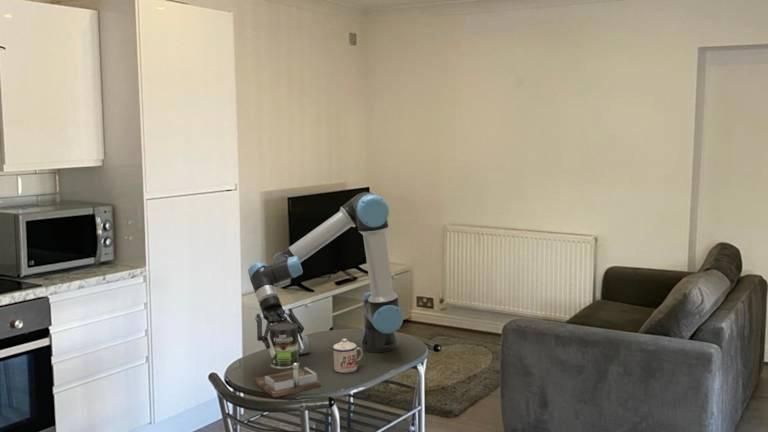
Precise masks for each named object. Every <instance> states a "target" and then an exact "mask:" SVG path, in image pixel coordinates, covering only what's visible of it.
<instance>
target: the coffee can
mask: <svg viewBox="0 0 768 432" xmlns="http://www.w3.org/2000/svg"><path fill="white" fill-rule="evenodd" d="M269 338H270V339H271V342H272V344H273V347H274V350H275V353H276V354H275V356H274V357H273V358H272V357H271V354H270V366H271V368H274V369H279V370H280V369H281V370H282V369H283V370H287V369H293V368H292V364H293V363H298V365H299V366H300V354H299V345H298V324H296V323H292V322H291V321H290V322H281V323H274V324H272V323H271V325H270V326H269Z"/></svg>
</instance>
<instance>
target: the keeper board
mask: <svg viewBox="0 0 768 432" xmlns="http://www.w3.org/2000/svg"><path fill="white" fill-rule="evenodd" d="M265 376H266V375H264V376H261V377H256V378H254V384H255V385H257V384H258V385H259V386H258V385H257V386H258V387H260V388H261V389H262V388H263V389H264V390H263V389H262V390H263V391H264V392H266V393H267V394H269V395H270V396H271V397H273V398H277V397H281V396H285V395H286V396H287V395H291V394H294V393H299V392H303V391H307V390H311V389H316V388H320V387H322V382H321V381H319V379H317V382H316V383H311V384H307V385H303V386H299V387H298V388H290V389H285V390H281V391H277V392H275V391H273V390H272V389H271V388H269V387H268V386H267V385H265ZM268 376H269V377H270V378H271V379H273V380H274V381H275V382H279V381H283V380H288V379H292V378H293V369H292V370H288V371H283V372H280V373H279V372H278V373H275V374H274V373H273V374H269V375H268ZM298 376H299V377H301V376H304V369H301V368H298Z"/></svg>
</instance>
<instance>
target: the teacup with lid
mask: <svg viewBox="0 0 768 432" xmlns="http://www.w3.org/2000/svg"><path fill="white" fill-rule="evenodd" d="M332 350H333V366H334V367H333V369H334V371H335V372H337V373H342V374H344V373H345V374H347V373H352V372H355V371H356V370H357V369H358V361H360V360H361V359H362V357H363V354H364V353H363V351H364V350H363V349H362V348H361V347H358V346H357V344H356V343H354V342H351V341H349V340H348V339H347V338H342V339H341V340H340V341H339V342H338V343H335V344H334V345H333V347H332ZM358 351H359V355H358V354H357V353H358Z"/></svg>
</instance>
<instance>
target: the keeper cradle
mask: <svg viewBox="0 0 768 432" xmlns="http://www.w3.org/2000/svg"><path fill="white" fill-rule="evenodd" d="M299 366H300V364H299V365H298V363H293V364H292V368H291V369H292V370H293V378H292V379H288V380H283V381H279V382H275V381H274V380H273V379H271V378H270V377H269V375H264V376H265V385H267V386H268V387H269V388H271V389H272V390H273V391H275V392H277V391H281V390H285V389H290V388H298V387H299V386H303V385H307V384H311V383H316V382H317V380H318V374H317V373H316V372H315V371H313V370H312V369H309V368H308V367H306V366H305V367H303V371H304V376H301V377H299V376H298V369H300V367H299Z"/></svg>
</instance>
